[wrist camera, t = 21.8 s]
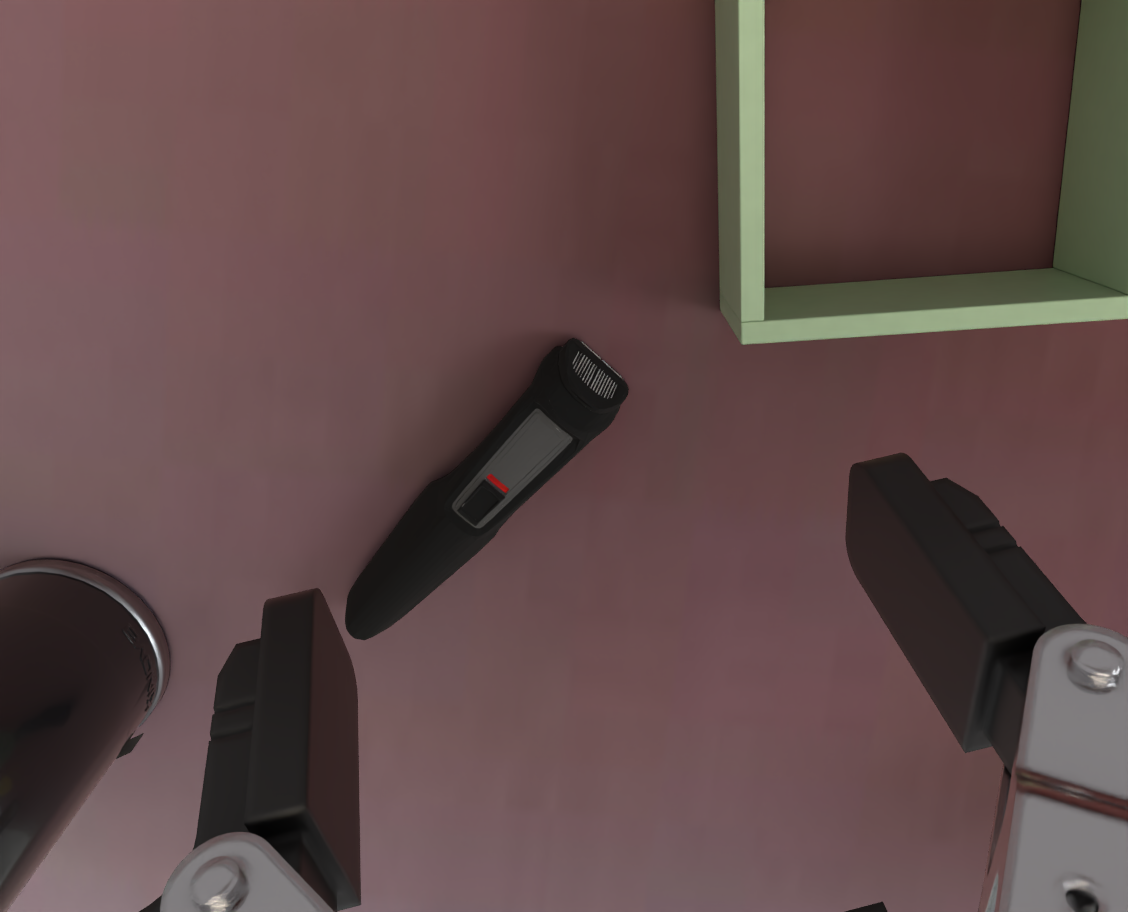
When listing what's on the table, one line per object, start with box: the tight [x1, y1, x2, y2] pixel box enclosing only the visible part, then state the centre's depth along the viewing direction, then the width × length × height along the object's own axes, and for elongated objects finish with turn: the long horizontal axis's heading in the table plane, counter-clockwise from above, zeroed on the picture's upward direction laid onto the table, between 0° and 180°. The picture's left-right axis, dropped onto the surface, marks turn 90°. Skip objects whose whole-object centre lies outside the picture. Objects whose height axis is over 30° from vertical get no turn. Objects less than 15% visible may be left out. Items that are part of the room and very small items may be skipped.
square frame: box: [715, 0, 1128, 345], centre depth 32 cm, size 14×13×6 cm
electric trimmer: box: [345, 338, 628, 640], centre depth 39 cm, size 4×16×3 cm, turn 137°
